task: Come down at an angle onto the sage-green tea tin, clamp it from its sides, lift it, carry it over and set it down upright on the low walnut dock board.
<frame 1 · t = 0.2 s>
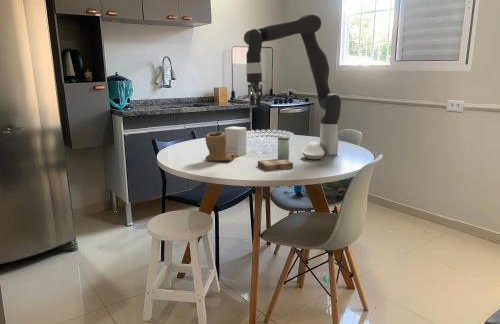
hand: (255, 105, 189), 28 cm above the table, tool pointing down, fingers open, 8 cm apart
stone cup: (219, 161, 195), on the table
tea tin: (283, 160, 197), on the table
supplement box: (235, 154, 210), on the table
dock: (275, 166, 183), on the table
spoon rest: (312, 156, 207), on the table
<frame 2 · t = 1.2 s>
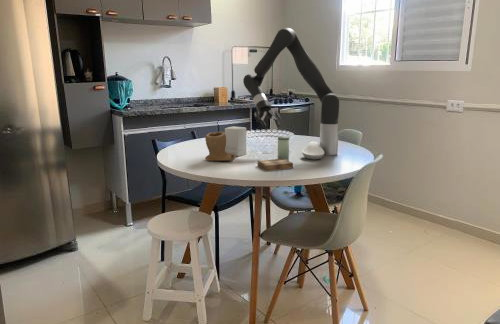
hand: (272, 127, 203), 16 cm above the table, tool tilted 45°, fingers open, 8 cm apart
nothing on the table moved.
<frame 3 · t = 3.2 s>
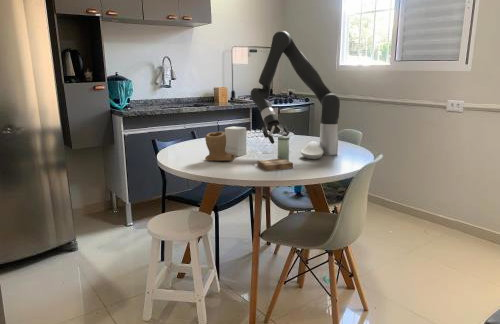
hand: (280, 142, 197), 9 cm above the table, tool tilted 45°, fingers open, 8 cm apart
nothing on the table moved.
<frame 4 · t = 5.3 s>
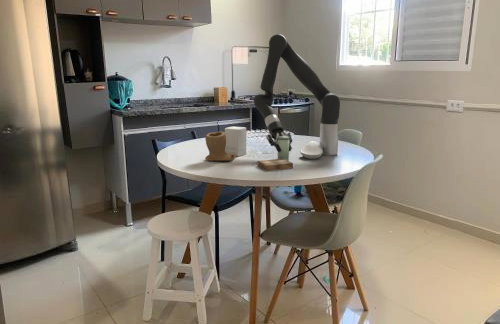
hand: (285, 150, 194), 5 cm above the table, tool tilted 45°, fingers closed on tea tin, 5 cm apart
tea tin: (283, 160, 197), on the table, touching gripper
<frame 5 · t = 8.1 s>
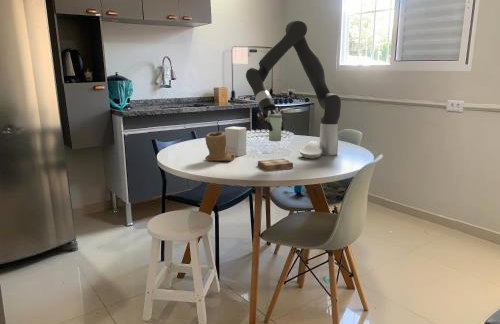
hand: (277, 129, 178), 18 cm above the table, tool tilted 45°, fingers closed on tea tin, 5 cm apart
tea tin: (274, 140, 180), point 13 cm above the table, touching gripper
when the fingers open (9 cm above the table, at t = 10.8 s): tea tin stays where it is, resting on dock.
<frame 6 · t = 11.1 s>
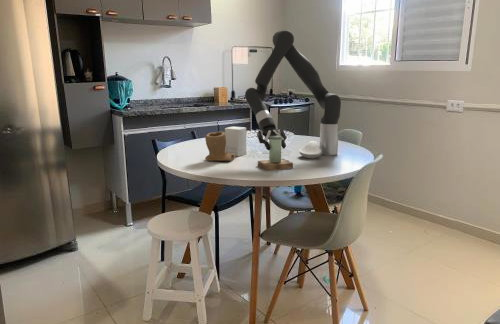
hand: (277, 148, 180), 9 cm above the table, tool tilted 45°, fingers open, 8 cm apart
tea tin: (275, 161, 183), point 3 cm above the table, touching dock
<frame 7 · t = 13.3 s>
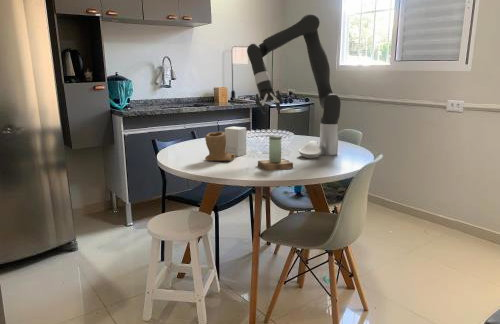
hand: (272, 112, 194), 25 cm above the table, tool tilted 25°, fingers open, 8 cm apart
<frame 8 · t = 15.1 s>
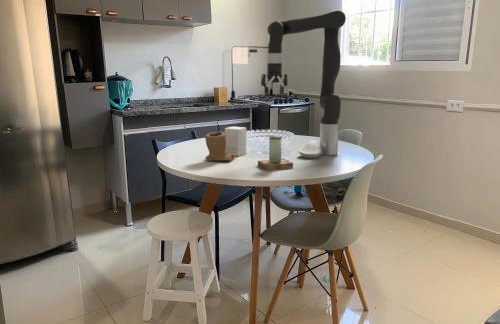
hand: (274, 94, 199), 33 cm above the table, tool pointing down, fingers open, 8 cm apart
at the end: tea tin inside the target area on the dock (0.2 cm from its centre), point 2.7 cm above the dock's base; tea tin tilted 1°; the gripper is holding nothing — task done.
